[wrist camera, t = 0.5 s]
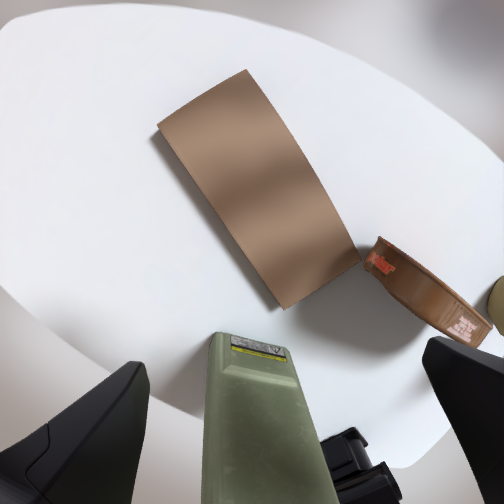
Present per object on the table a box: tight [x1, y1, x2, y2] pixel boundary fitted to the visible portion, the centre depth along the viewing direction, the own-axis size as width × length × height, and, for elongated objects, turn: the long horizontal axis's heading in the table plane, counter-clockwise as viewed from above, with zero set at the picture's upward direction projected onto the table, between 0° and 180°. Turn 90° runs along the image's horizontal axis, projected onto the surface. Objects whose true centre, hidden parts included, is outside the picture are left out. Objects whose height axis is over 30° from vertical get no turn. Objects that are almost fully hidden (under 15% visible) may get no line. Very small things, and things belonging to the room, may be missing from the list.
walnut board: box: [157, 69, 361, 310], centre depth 19 cm, size 16×7×1 cm, turn 33°
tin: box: [363, 236, 493, 349], centre depth 18 cm, size 15×3×8 cm, turn 61°
